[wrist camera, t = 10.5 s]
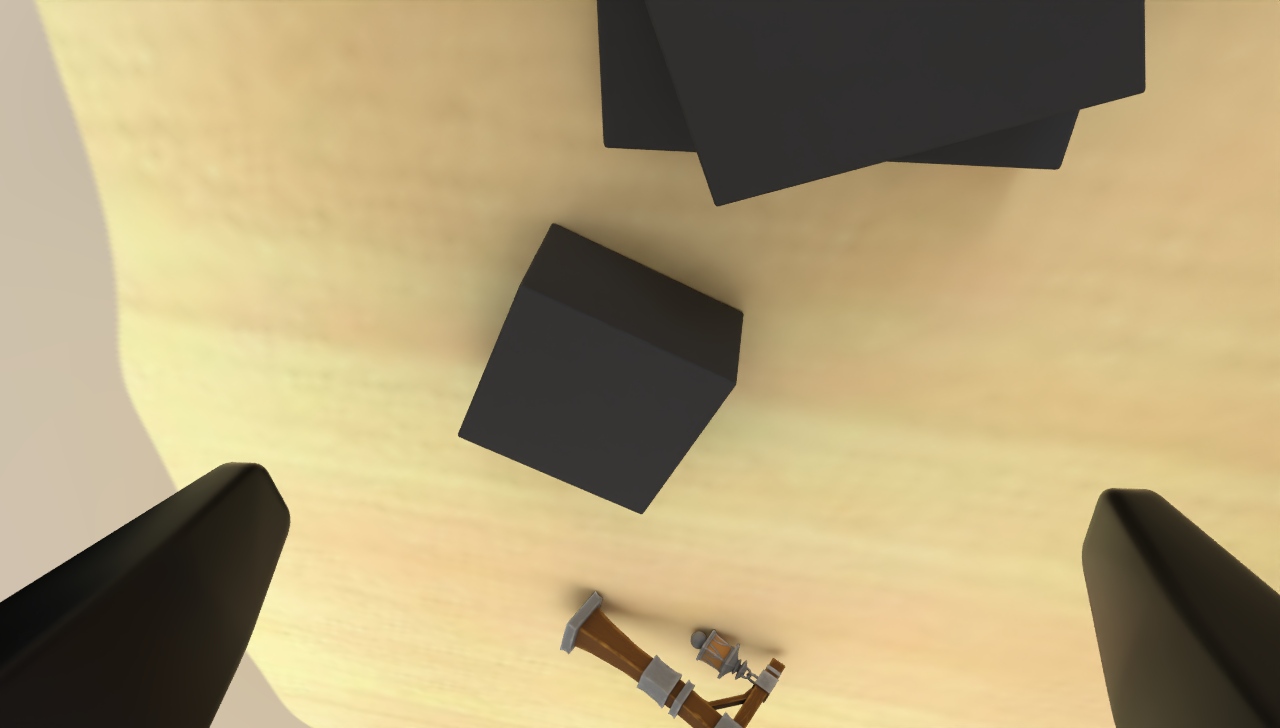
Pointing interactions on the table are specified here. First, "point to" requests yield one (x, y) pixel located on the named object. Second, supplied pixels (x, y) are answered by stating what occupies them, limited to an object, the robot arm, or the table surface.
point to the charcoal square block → (881, 77)
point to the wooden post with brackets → (662, 681)
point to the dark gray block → (603, 371)
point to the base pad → (654, 120)
